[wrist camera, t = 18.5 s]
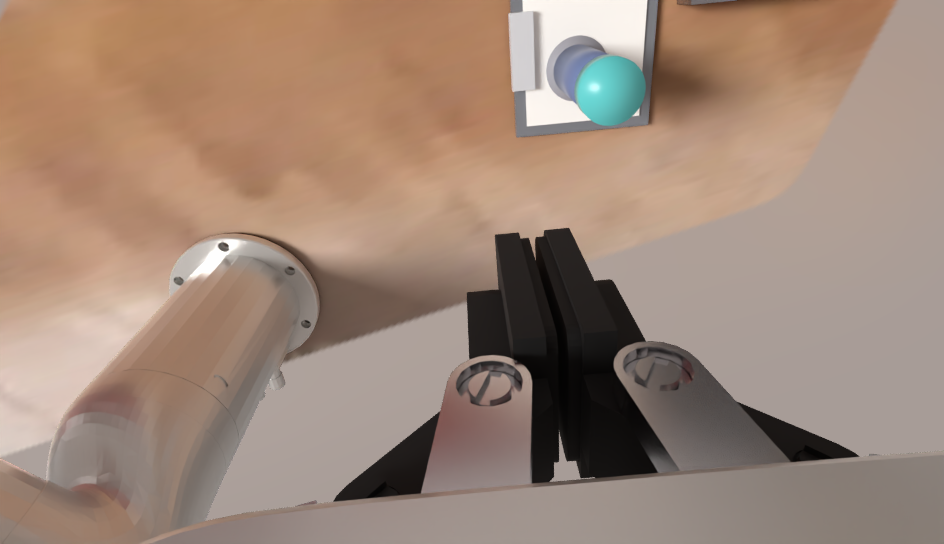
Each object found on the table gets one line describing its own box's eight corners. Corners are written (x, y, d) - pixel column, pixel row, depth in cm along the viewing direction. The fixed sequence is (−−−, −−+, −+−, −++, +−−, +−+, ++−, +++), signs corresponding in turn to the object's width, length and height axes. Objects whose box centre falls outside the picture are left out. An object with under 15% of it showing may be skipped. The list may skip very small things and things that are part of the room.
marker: (551, 97, 37) (577, 127, 29) (552, 44, 35) (581, 58, 27) (600, 95, 37) (641, 124, 29) (604, 41, 35) (649, 55, 27)
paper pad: (645, 123, 39) (651, 127, 38) (513, 136, 39) (515, 140, 38) (660, -63, 33) (667, -65, 32) (504, -47, 33) (506, -49, 32)
